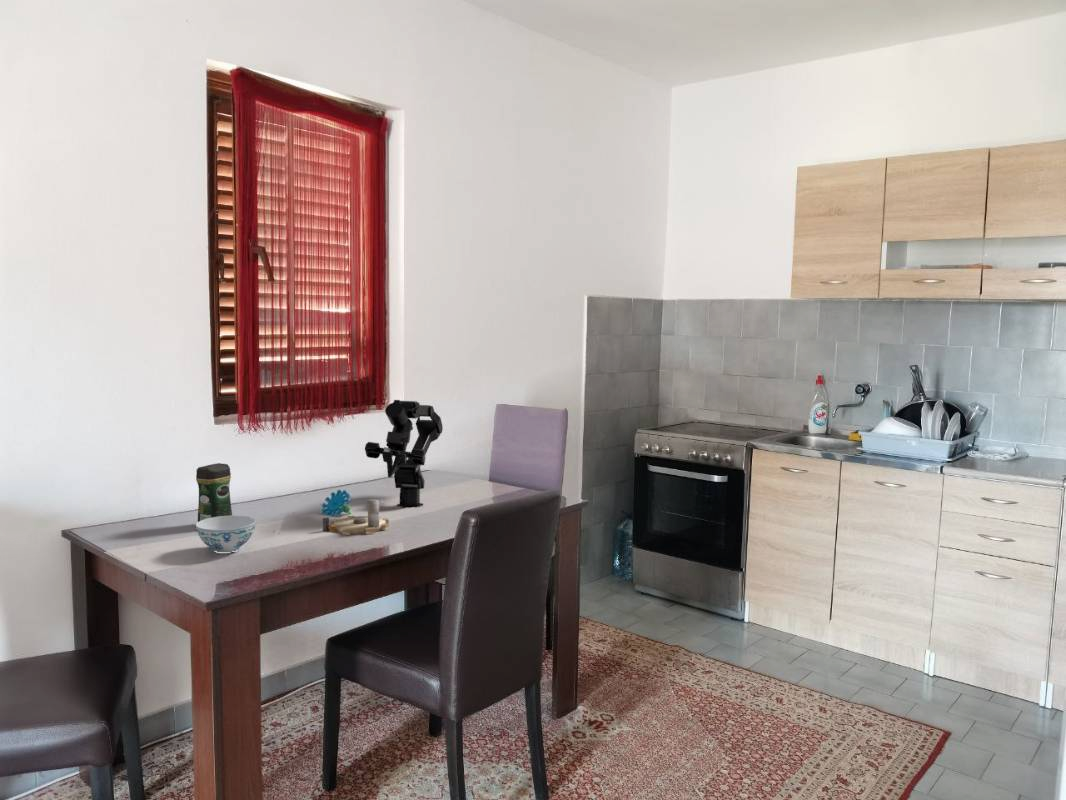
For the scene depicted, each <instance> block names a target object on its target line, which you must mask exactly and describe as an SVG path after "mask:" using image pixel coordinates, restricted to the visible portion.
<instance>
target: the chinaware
mask: <svg viewBox="0 0 1066 800" xmlns="http://www.w3.org/2000/svg"><path fill="white" fill-rule="evenodd" d="M256 521H257V520H256V519H255V517H250V516H248V515H247V516H246V515H232V516H220V517H213V518H208V519H204V520H201V521H199V522H198V521H197V522H196V523H195V528H196V532H197V535H198V536H199V538H200V540H201V541H202V542H203V544H204V545H206V546H207V547H209V548H210V549H212V550H214V551H217V552H232V551H236V550H239V549H240V550H241V547H243V545H245V544H246V543H247V542H248V541H249V540H250V539H251V537H252V535H253V533H254V531H255V527H256V523H257V522H256ZM240 550H239V551H240Z"/></svg>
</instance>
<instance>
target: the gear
mask: <svg viewBox="0 0 1066 800" xmlns="http://www.w3.org/2000/svg"><path fill="white" fill-rule="evenodd" d="M330 496H331V497H329V496H327V497H325V498H324V500H325V501H326V502H327V503H326V502H323V503H322V504H321V507H322V509H321V513H323V514H324V515H325V516H330V517H334V516H336V514H337V516H339V515H341V514H342V512H344V513H347V514H349V515H352V514H353V513H352V512H351V511H350V510H351V507H350V506H349V504H350V502H351V500H350V497H351V495H350V494H349V492H347V490H345V489H344V490H343V491H342V490H341V489H337V491H336V492H335V491H333V492H331V493H330ZM345 503H346V504H345Z"/></svg>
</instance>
